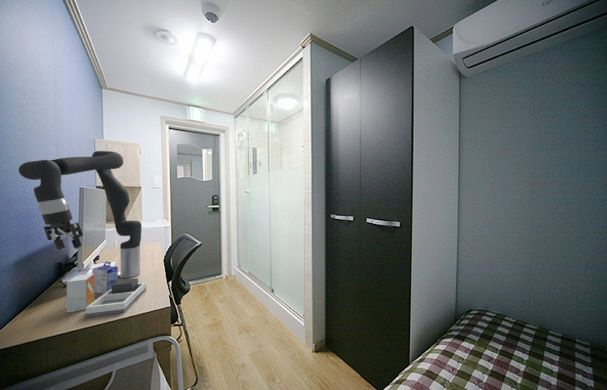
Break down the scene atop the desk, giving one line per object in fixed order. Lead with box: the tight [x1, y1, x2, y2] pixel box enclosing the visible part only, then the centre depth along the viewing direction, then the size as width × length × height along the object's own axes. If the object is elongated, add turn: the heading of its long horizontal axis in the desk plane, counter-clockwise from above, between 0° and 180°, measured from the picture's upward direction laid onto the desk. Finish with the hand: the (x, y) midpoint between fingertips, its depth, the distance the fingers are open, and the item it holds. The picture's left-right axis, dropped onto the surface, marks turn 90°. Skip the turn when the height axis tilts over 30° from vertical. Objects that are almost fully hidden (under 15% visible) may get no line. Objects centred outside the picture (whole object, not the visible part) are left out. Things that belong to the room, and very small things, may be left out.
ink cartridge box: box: [91, 261, 119, 295], centre depth 108 cm, size 10×6×14 cm, turn 78°
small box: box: [66, 273, 95, 313], centre depth 93 cm, size 8×6×13 cm
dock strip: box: [85, 277, 147, 318], centre depth 97 cm, size 21×13×8 cm, turn 16°
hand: (69, 248), depth 88 cm, fingers open, 8 cm apart
